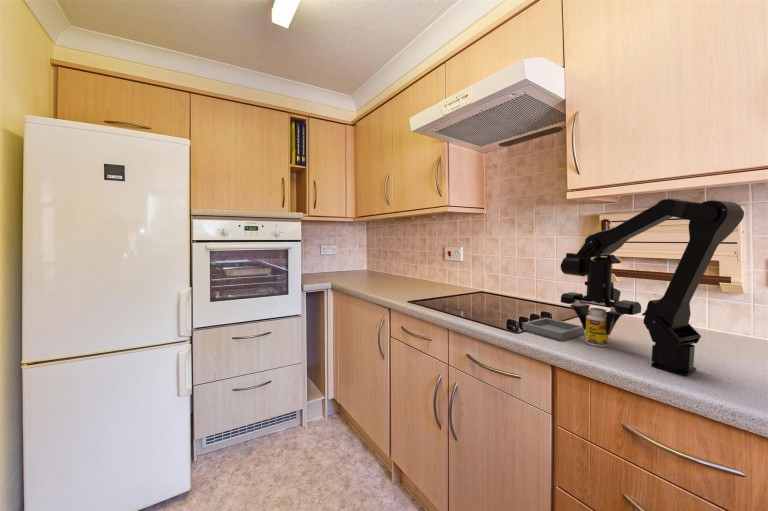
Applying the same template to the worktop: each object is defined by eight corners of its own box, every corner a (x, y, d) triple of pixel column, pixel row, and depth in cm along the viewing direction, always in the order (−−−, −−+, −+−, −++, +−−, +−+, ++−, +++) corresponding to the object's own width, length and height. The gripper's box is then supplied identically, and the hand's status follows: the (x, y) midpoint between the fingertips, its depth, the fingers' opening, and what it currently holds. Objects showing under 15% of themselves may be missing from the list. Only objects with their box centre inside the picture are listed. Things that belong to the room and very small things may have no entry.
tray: (584, 334, 100) (584, 326, 100) (561, 341, 94) (561, 333, 93) (545, 324, 111) (545, 317, 111) (522, 330, 105) (522, 322, 105)
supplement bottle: (585, 345, 90) (586, 310, 90) (584, 339, 95) (585, 306, 95) (609, 348, 88) (610, 312, 87) (606, 342, 92) (608, 308, 92)
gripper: (651, 280, 86) (648, 336, 87) (579, 273, 102) (578, 320, 103) (633, 283, 81) (630, 343, 82) (560, 275, 97) (558, 325, 98)
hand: (596, 332), depth 91 cm, fingers closed on supplement bottle, 6 cm apart
